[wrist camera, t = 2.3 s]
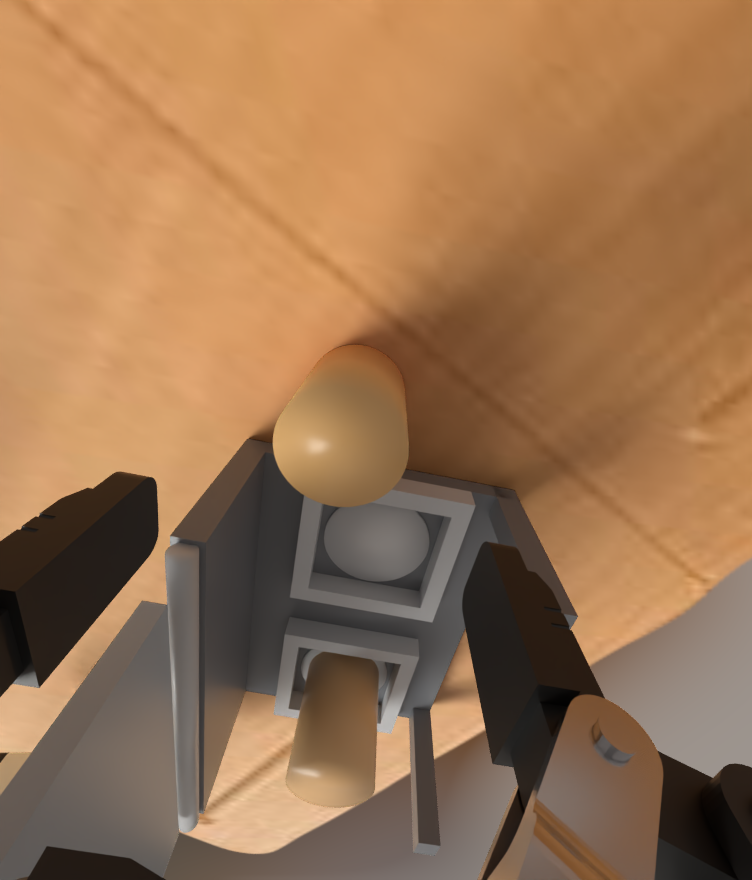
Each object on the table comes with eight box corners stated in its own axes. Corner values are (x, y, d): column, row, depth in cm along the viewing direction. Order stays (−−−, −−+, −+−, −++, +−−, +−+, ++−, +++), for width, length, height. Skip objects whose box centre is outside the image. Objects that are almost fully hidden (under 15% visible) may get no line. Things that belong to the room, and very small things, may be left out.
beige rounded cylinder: (314, 335, 18) (278, 371, 12) (415, 355, 18) (424, 400, 12) (303, 427, 20) (267, 493, 14) (393, 444, 20) (392, 517, 14)
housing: (247, 438, 20) (155, 554, 12) (514, 490, 20) (585, 632, 13) (233, 674, 28) (172, 832, 20) (424, 705, 29) (435, 871, 21)
